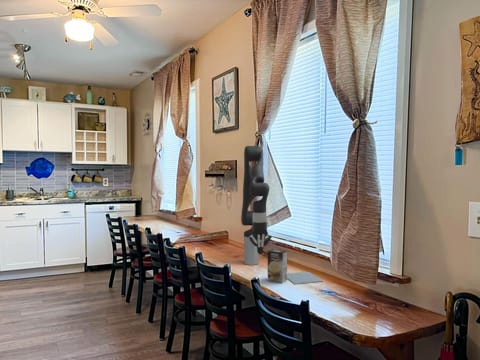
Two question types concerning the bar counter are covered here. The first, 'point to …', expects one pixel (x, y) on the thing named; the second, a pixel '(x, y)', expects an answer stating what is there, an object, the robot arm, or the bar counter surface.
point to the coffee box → (277, 265)
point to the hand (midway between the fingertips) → (260, 253)
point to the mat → (302, 278)
